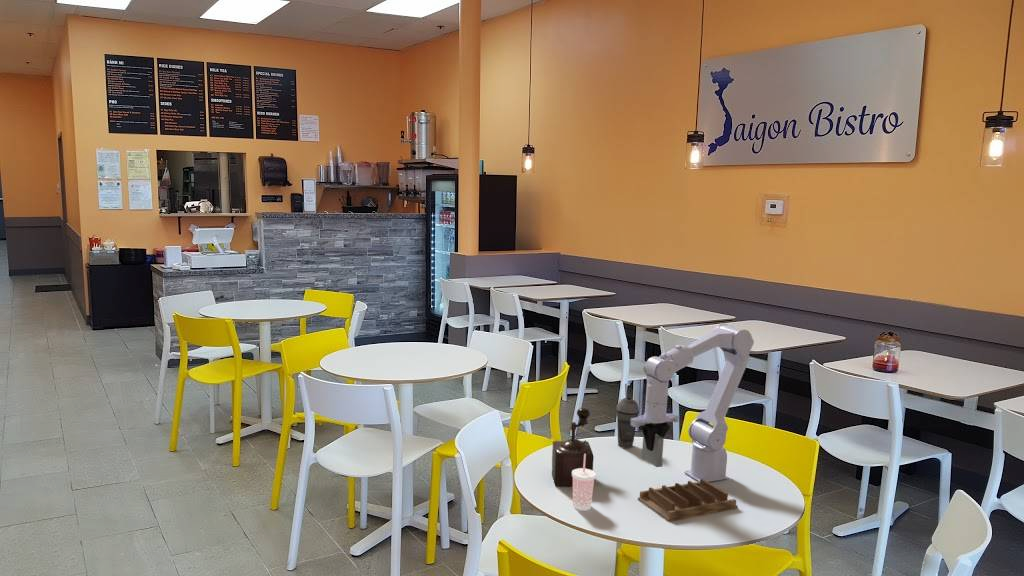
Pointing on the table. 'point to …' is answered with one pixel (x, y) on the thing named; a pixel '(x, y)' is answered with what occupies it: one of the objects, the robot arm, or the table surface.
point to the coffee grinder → (571, 454)
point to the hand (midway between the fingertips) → (652, 449)
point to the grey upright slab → (654, 451)
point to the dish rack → (686, 500)
